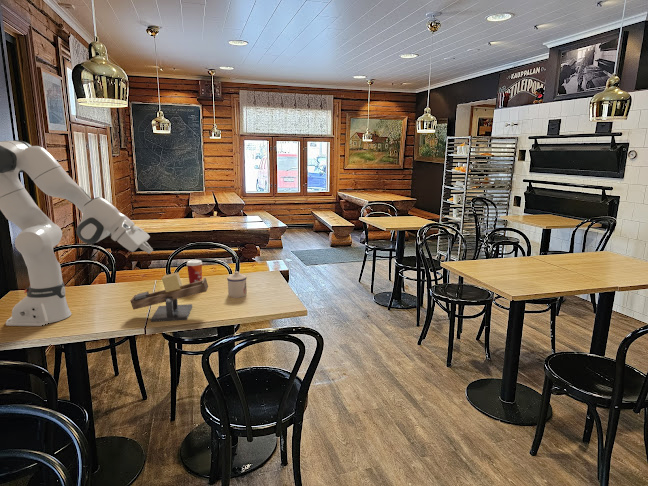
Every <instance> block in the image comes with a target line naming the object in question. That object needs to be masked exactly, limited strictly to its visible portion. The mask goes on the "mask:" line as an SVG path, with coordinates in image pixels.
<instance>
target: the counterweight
mask: <svg viewBox="0 0 648 486" xmlns="http://www.w3.org/2000/svg"><path fill="white" fill-rule="evenodd" d="M149 294H150V292H149V291H145V292H144V291H143V292H140V293H137V294H135V295H136V296H135V295H134V296H135V300H136V301H137V300H141V299H145V298H149V297H150V295H149Z"/></svg>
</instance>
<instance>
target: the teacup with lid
mask: <svg viewBox="0 0 648 486" xmlns="http://www.w3.org/2000/svg"><path fill="white" fill-rule="evenodd" d="M226 280H227V292H228V297H229V298H233V299H236V298H237V299H239V298H240V299H241V298H244V297H245V296H247V292H248V291H247V289H248V288H247V276H246V275H245V274H242V273H240V272H239V271H237V270H236V271H234V273H233V274H229V276H227V278H226Z"/></svg>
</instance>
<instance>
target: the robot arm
mask: <svg viewBox="0 0 648 486" xmlns="http://www.w3.org/2000/svg"><path fill="white" fill-rule="evenodd" d="M24 172H25V173H26V174H27V175H28V177H29V178H30V179H31V181H33V183H34V184H35V185H36V187H38V189H40V191H41V192H43V193H44V194H45V195H47V196H50V197H52V198H59V199H64V200H67V201H69V202H71V203H72V204H74V205H75V207H76V208H78V209H79V212H81V213H82V216H81V220H80V222H79V224H78V225H77V227H76V235H77V237H78V239H79V240H80V241H81V242H83V243H85V244H89V245H93V244H95V243H99V242H100V241H102V240H103V239H106V238H108V237H110V239H111V240H112V241H114V242H116V241H117V243H118V244H120V245H121V246H122V247H123V248H125V249H126V250H128V251H129V252H132V253H133V252H135V251H136V250H138V249H140V250H142V251H144V252H146V253H147V254H151V253H152V252H153V251H154V249H153V247H151V245H150V244H149V243H148V242H147V241H148V240H149V239H150V238H151V236H150V235H149V233H147V231H145V230H143V229H142V228H141V227H140V226H138V225H136V223H135V222H134V221H133V220H131V219H130V218H129V217H128V216H127V215H126V214H123V213H121V211H120V210H118V208H117V207H116V206H114V205H113V204H112V203H111V202H109V201H108V200H107V199H105V198H103V197H100V196H99V197H95V198H91V196H90V195H89V194H88V193H87V192H86V191H85V190H84V189H83V188H82V187H81V186H80V185H79V184H78V183H77V182H76V181H75V180H74V179H73V178H72V177H71V176H70V175H69V173H68V172H66V170H65V169H64V168H63V166H62V165H61V164H60V163H59V162H58V160H57V159H56V158H55V157H54V156H53V155H52V154H51V153H50V152H49V151H48V150H46V149H45V148H44V147H42V146H39V145H32V144H30V143H28V142H26V141H23V140H18V139H16V140H15V139H13V140H1V141H0V212H1V213H2V214H3V215H4V217H5V219H6V220H8V221H9V222H12V223H13V224H14V225H15V226H16V227H17V228H19V229H20V232H19V233H18V235H17V236H16V238H15V239H14V247H15V248H16V250H17V251H18V253H20V255H21V256H22V259H23V261H24V263H25V266H26V267H27V269H26V270H27V272H28V273H27V274H28V278H29V286H28V287H27V288H26V289H25V290H23V293H24V294H26V296H24V297H23V298H22V299H21V300H20V301H19V302H17V303H16V304H15V305H14V306H13V308H12V310H11V316H10V317H9V318H8V319H7V320H6V321H5V326H8V327H9V326H11V327H13V326H15V327H17V326H18V327H43V326H46V325H48V323H49V324H52V323H55V322H60V321H63V320H65V319H67V318H69V317H70V316H72V312H71V309H70V308H69V304H68V302H67V297H66V287H65V283H64V281H63V274H62V268H61V263H60V262H59V261H58V260H57V257H56V254H55V252H54V247H56V246H57V245H59V243H60V242H61V239H62V238H63V231H62V229H61V227H60V226H59V225H58V224H56V223H54V221H52V220H51V219H50V218H49V217H48V215H46V213H44V212H43V210H41V208H40V207H39V206H38V205H37V204H36V202H35V200H34V199H33V198H32V196H31V195H30V193H29V192H28V191H27V189H26V188H25V186H24V185H23V183H22V182H21V180H20V179H19V173H24ZM45 324H46V325H45ZM42 325H43V326H42Z"/></svg>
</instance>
